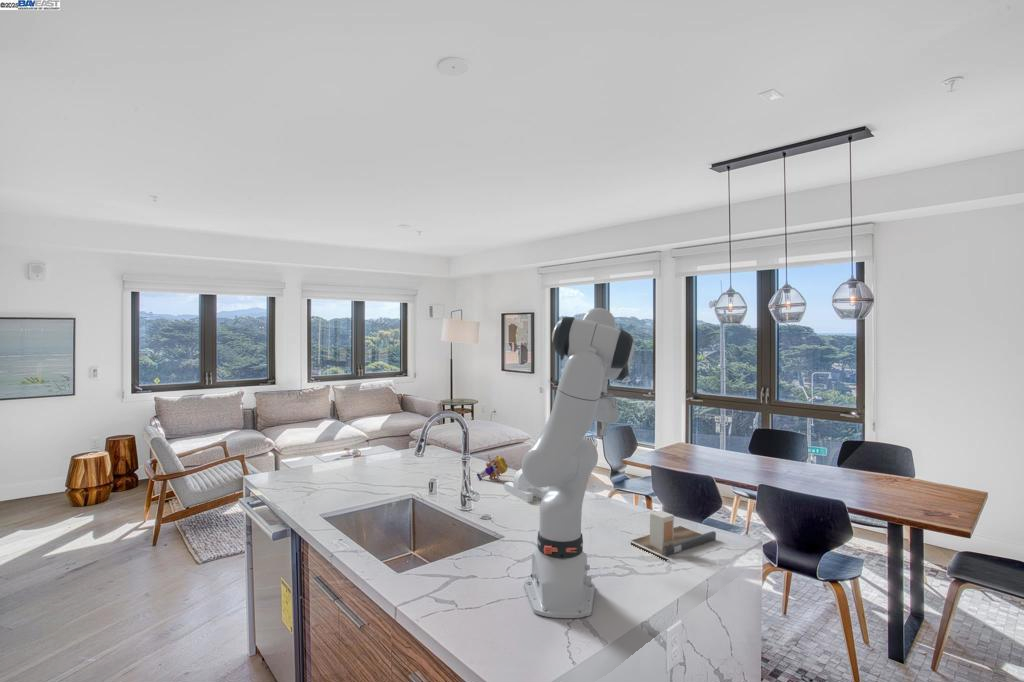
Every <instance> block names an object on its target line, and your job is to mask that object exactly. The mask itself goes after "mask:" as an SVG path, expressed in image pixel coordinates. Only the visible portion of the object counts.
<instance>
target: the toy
mask: <svg viewBox="0 0 1024 682" xmlns="http://www.w3.org/2000/svg"><path fill="white" fill-rule="evenodd" d="M486 456H487V459H488V460H489V463H488V462H485V463H486V467H485V468H484V470H482V471H480V472H479V473H478V472H477V473H476V476H477V479H479V480H482V479H483V478H486V477H487V476H489V477H488V479H494V480H495V479H496V480H497V481H498V482H501V480H500V477H501V476H502V475H503V474H505V473H506V472H507V471H508V464H507V463H506V462H507V460H505V458H504V457H502V456H499V455H496V456H495V458H494V459H491V456H490V455H489V454H487V455H486Z"/></svg>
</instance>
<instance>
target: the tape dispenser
mask: <svg viewBox="0 0 1024 682" xmlns="http://www.w3.org/2000/svg"><path fill="white" fill-rule="evenodd" d="M503 486H504V487H503V489H504V490H506V491H507V492H506V491H505V492H506V493H508V492H509V493H511V494H512V495H511V494H510V495H511V496H513V495H514V496H513V497H515V496H516V498H517V497H518V498H517V499H519V498H520V499H519V500H521V499H522V500H521V501H523V500H524V501H523V502H525V501H526V502H525V503H527V502H529V503H532V502H533V497H534V496H536V497H535V498H538V497H539V498H538V499H540V498H541V499H540V500H542V499H543V497H544V496H545V494H546V493H547V491H548V489H545V488H544V487H534V486H532V485H531V484H529V483H528V482H527V480H526V479H525V477H524V475H523V472H522V468H520V469H519V470H517V471H516V473H515V474H514V477H513V479H512V481H507V482H504V485H503ZM504 490H503V491H504ZM509 493H508V494H509ZM531 501H532V502H531Z"/></svg>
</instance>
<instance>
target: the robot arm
mask: <svg viewBox="0 0 1024 682" xmlns="http://www.w3.org/2000/svg"><path fill="white" fill-rule="evenodd" d="M551 342H552V347H553V350H554V352H555V353H556V354H558V355H559V357H560V360H561V361H563V360H564V358H565V356H566V357H567V360H566V362H565V364H564V367H563V369H562V372H561V375H560V377H559V381H558V384H557V389H556V393H555V395H554V401H553V403H552V408H551V412H550V414H549V417H548V418H547V419H548V420H547V421H546V424H545V426H544V427H543V429H542V431H541V433H540V435H539V436H538V438H537V440H536V441H535V443H534V444H533V445H532V446H531V448H529V449H528V450H527V452H525V454H523V455H524V456H523V458H522V460H521V469H522V472H523V475H524V477H525V479H526V480H527V482H528V483H529V484H531V485H532V486H534V487H541V488H548V489H547V493H546V494H545V496H544V497H543V499H541V501H540V504H539V530H538V532H537V538H536V540H537V544H536V545H537V548H536V550H535V551H533V552H532V553H531V567H530V568H531V570H530V571H531V574H530V578H527V579H525V580H524V581H523V587H524V590H525V592H526V595H527V597H528V600H529V603H530V606H531V608H532V611H533V612H534V614H536V615H539V616H543V617H545V618H546V617H547V618H552V619H553V618H556V619H581V618H585V616H586V617H588V616H591V615H592V612H593V605H594V597H595V592H596V584H595V582H594V581H592V576H591V575H588V571H590V567H591V566H590V564H588V554H586V552H585V551H584V538H583V537H584V536H583V533H582V517H583V516H582V514H583V513H582V512H583V511H582V510H583V504H584V498H585V493H586V490H587V486H588V483H589V479H590V477H591V475H592V472H593V471H594V469H595V468H596V467H597V465H598V464H597V463H598V461H599V454H598V450H597V448H596V446H595V444H594V443H593V442H592V440H590V439H588V438H584V437H585V436H586V434H588V433H589V431H590V430H591V428H592V426H593V425H594V421H596V422H600V423H601V426H602V427H601V429H599V436H601V437H607V435H608V434H607V432H608V430H609V427H610V425H611V424H616V423H618V421H619V418H620V417H619V408H618V407H619V406H618V403H617V397H616V396H615V395H614V393H611V392H609V393H608V380H614V381H623V380H624V379H626V378H627V377H628V376H629V374H630V371H631V360H632V359H633V357H634V352H635V344H634V338H633V336H632V335H631V334H630V332H628V331H627V330H624V328H617V322H616V319H615V317H614V315H613V314H612V312H611V311H609V310H608V309H605V308H603V307H595V308H591V309H590V310H588V311H587V312H586V313H585V314H584V315H583V316H582V319H581V318H575V317H573V316H563V317H562V318H560V319H559V320H558V321H557V323H556V325H555V326H554V328H553V330H552V333H551Z"/></svg>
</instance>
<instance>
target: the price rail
mask: <svg viewBox="0 0 1024 682" xmlns="http://www.w3.org/2000/svg"><path fill="white" fill-rule="evenodd" d="M701 534H702V535H699V536H696V537H693V538H690V539H687V540H684V541H680V542H677V543H674V544H671V545H668V546H665V547H663V555H664V557H668V556H672V555H676V554H678V553H681V552H683V551H686V550H690V549H693V548H696V547H699V546H701V545H705V544H708V543H711V542H714V541H716V540H717V539H716V538H717V532H716V531H714V530H712V531H710V532H709V531H708V532H705V533H701ZM663 555H662V556H663Z"/></svg>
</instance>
